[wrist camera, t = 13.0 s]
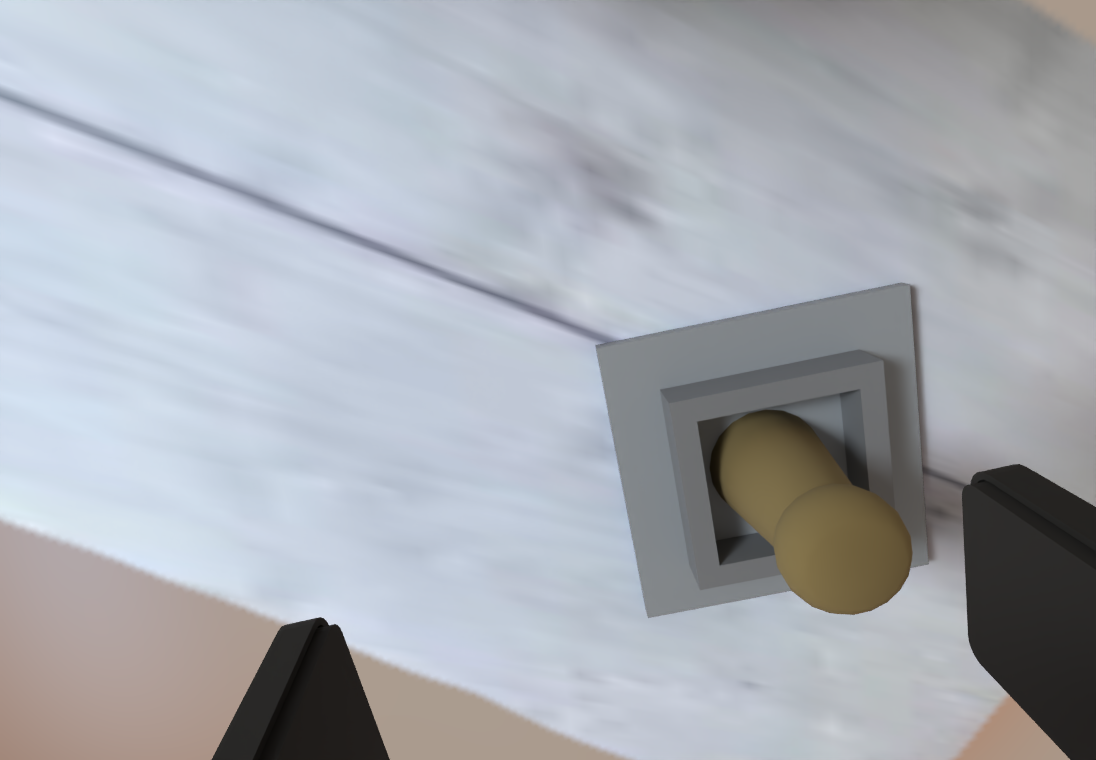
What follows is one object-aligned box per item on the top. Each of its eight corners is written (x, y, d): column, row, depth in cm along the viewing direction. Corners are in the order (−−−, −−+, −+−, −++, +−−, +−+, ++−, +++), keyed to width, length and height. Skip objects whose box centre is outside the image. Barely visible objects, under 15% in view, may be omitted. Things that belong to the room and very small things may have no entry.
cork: (730, 530, 37) (809, 661, 27) (693, 435, 36) (760, 534, 25) (835, 490, 37) (957, 607, 26) (802, 391, 36) (917, 473, 25)
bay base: (595, 345, 35) (601, 359, 32) (901, 282, 35) (938, 291, 32) (646, 609, 40) (655, 645, 36) (920, 557, 39) (955, 588, 36)
